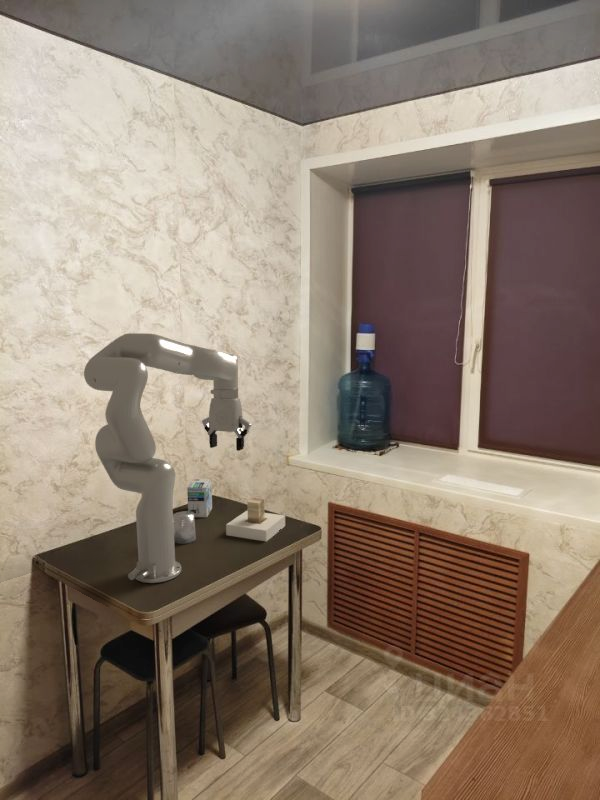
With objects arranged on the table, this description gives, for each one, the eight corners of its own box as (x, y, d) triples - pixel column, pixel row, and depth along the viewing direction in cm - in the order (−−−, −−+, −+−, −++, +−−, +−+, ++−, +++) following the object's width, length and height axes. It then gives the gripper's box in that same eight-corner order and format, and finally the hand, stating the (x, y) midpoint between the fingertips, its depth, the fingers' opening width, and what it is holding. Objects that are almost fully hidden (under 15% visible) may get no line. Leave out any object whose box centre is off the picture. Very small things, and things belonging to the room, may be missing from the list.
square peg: (259, 533, 184) (258, 503, 182) (248, 531, 185) (247, 501, 184) (264, 529, 187) (264, 499, 186) (253, 527, 189) (253, 497, 187)
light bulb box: (207, 517, 198) (206, 487, 196) (187, 517, 198) (186, 487, 197) (212, 507, 209) (211, 478, 207) (194, 507, 209) (192, 478, 207)
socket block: (266, 541, 177) (266, 530, 177) (226, 535, 182) (226, 524, 182) (285, 525, 190) (285, 515, 189) (247, 520, 195) (247, 510, 195)
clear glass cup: (190, 544, 175) (188, 518, 174) (170, 543, 177) (168, 517, 176) (199, 536, 181) (197, 511, 180) (179, 535, 183) (178, 510, 182)
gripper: (195, 394, 180) (196, 448, 182) (243, 397, 173) (244, 453, 175) (209, 391, 187) (210, 443, 189) (256, 394, 179) (256, 448, 182)
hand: (226, 448), depth 182 cm, fingers open, 9 cm apart
